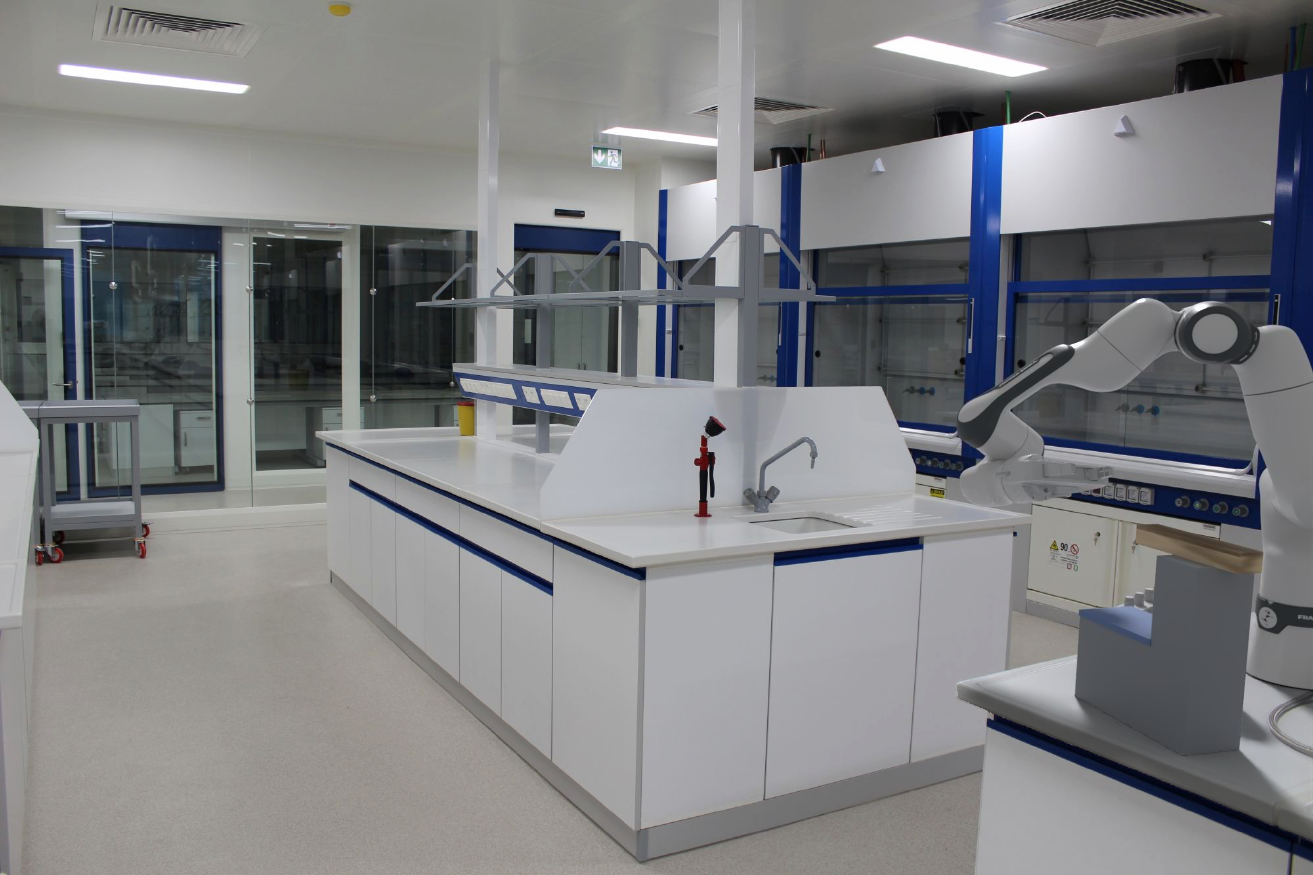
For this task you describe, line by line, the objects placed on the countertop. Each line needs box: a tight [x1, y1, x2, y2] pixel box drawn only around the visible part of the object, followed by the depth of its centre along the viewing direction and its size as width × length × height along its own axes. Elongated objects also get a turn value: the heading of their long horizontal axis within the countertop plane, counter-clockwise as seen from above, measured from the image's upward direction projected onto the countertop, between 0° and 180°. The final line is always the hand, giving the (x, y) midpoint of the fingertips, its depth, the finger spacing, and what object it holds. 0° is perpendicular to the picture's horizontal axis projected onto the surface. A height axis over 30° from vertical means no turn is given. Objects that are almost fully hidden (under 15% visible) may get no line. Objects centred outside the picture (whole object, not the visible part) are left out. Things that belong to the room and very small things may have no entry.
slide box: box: [1135, 523, 1264, 574], centre depth 148 cm, size 4×20×3 cm, turn 15°
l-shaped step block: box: [1074, 554, 1256, 757], centre depth 155 cm, size 10×24×28 cm, turn 15°
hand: (1092, 469), depth 171 cm, fingers open, 8 cm apart
